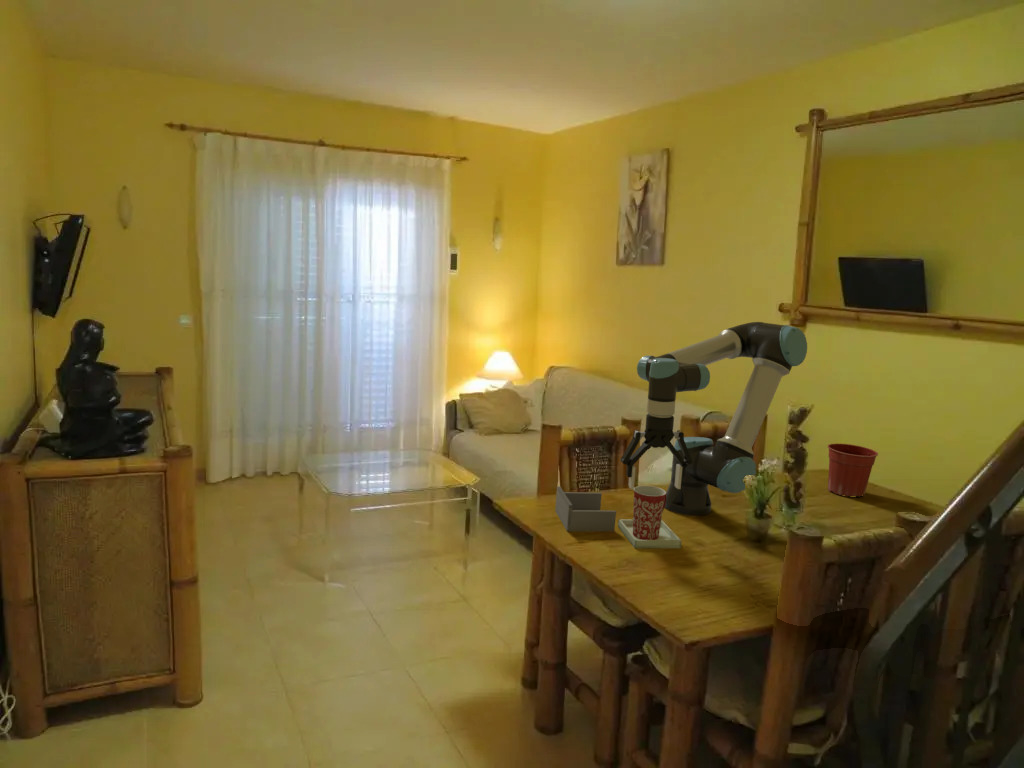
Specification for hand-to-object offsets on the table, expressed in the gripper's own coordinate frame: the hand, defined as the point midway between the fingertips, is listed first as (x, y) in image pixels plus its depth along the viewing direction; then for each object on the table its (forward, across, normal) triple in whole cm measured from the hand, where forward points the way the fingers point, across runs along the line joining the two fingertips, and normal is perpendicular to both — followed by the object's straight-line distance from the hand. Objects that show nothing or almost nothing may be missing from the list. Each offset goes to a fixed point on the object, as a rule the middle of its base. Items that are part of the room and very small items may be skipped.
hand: (654, 487), depth 206 cm
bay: (+14, +16, -12) cm, 25 cm away
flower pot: (+17, -87, -41) cm, 98 cm away
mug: (+14, 0, 0) cm, 14 cm away
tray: (+15, +1, 0) cm, 15 cm away
